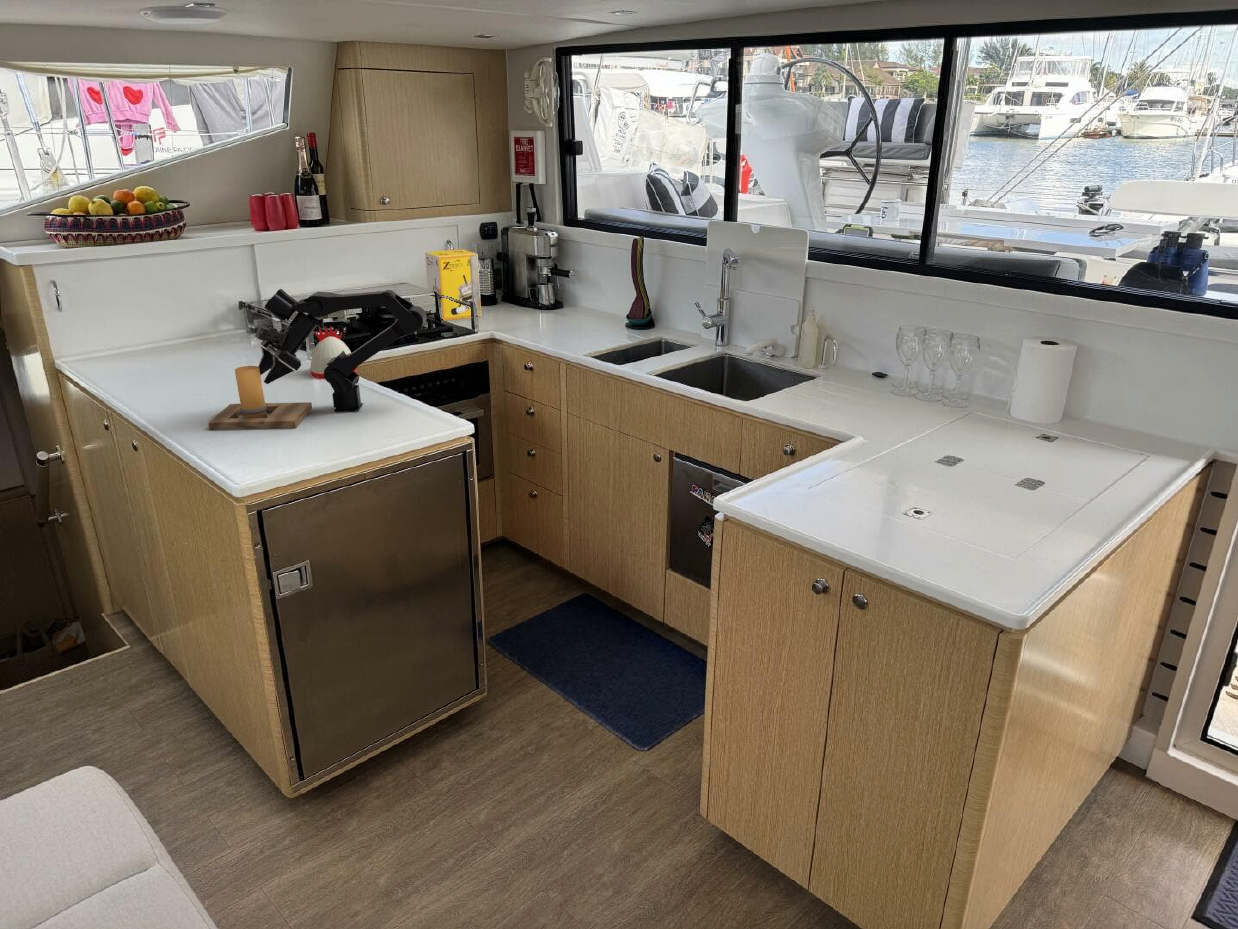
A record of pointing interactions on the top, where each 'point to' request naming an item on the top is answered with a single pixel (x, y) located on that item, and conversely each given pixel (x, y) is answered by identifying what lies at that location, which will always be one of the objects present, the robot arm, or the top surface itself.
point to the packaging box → (454, 281)
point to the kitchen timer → (326, 351)
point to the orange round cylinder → (251, 392)
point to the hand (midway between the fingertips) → (261, 379)
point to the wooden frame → (279, 418)
